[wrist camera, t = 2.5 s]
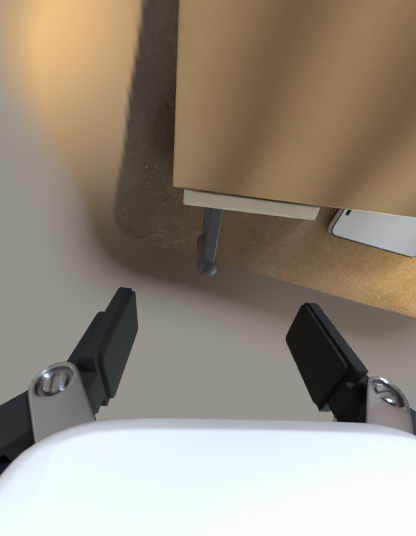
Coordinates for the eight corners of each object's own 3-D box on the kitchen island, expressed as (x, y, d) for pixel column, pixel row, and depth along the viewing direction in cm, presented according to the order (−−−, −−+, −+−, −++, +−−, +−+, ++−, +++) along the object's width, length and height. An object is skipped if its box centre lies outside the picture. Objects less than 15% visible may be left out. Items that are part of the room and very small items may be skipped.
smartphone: (415, 259, 27) (327, 234, 24) (407, 255, 28) (322, 231, 25) (464, 209, 24) (368, 172, 21) (453, 206, 25) (360, 171, 22)
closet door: (185, 230, 23) (177, 288, 14) (190, 169, 20) (184, 189, 10) (248, 237, 24) (282, 296, 14) (263, 180, 21) (320, 207, 11)
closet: (186, 181, 21) (171, 226, 9) (197, 21, 15) (195, -476, 3) (320, 200, 23) (457, 258, 11) (377, 62, 17) (834, -155, 5)
